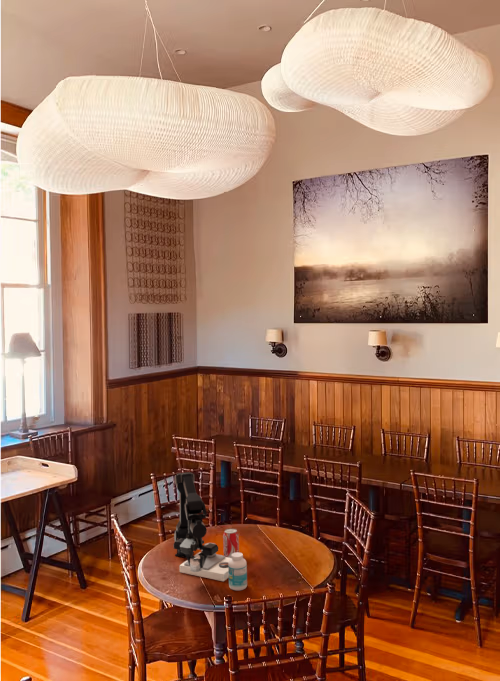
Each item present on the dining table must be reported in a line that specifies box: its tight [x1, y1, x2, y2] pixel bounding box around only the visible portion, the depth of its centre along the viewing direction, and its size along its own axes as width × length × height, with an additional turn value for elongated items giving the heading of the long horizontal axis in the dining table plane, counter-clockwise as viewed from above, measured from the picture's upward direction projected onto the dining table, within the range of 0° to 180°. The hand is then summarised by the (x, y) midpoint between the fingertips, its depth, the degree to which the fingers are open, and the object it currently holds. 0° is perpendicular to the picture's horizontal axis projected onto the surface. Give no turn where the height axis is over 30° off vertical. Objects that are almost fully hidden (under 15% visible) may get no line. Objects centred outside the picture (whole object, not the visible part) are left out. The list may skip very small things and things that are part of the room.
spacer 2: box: [204, 542, 217, 558], centre depth 270 cm, size 5×5×5 cm
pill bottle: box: [228, 551, 248, 591], centre depth 247 cm, size 8×7×14 cm
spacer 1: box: [190, 554, 202, 572], centre depth 253 cm, size 5×5×5 cm
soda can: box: [222, 528, 240, 558], centre depth 278 cm, size 7×7×12 cm
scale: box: [179, 551, 232, 582], centre depth 265 cm, size 22×16×4 cm
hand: (196, 566), depth 253 cm, fingers closed on spacer 1, 5 cm apart
